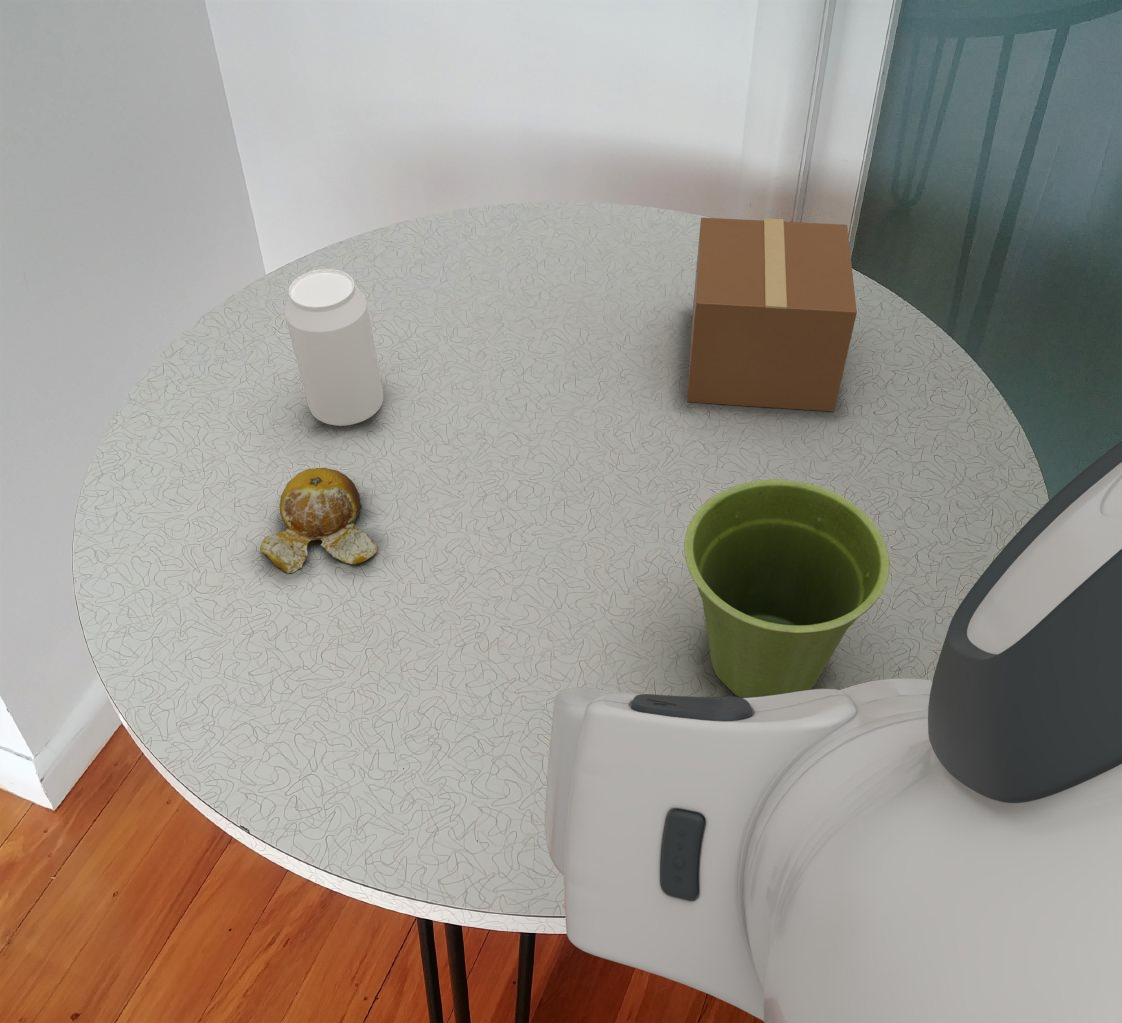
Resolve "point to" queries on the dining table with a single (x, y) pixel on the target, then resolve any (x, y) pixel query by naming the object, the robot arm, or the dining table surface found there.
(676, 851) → the robot arm
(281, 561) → the fruit
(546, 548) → the dining table surface
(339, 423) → the beverage can
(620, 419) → the dining table surface
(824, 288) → the carton
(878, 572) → the plant pot
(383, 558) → the dining table surface
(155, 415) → the dining table surface
